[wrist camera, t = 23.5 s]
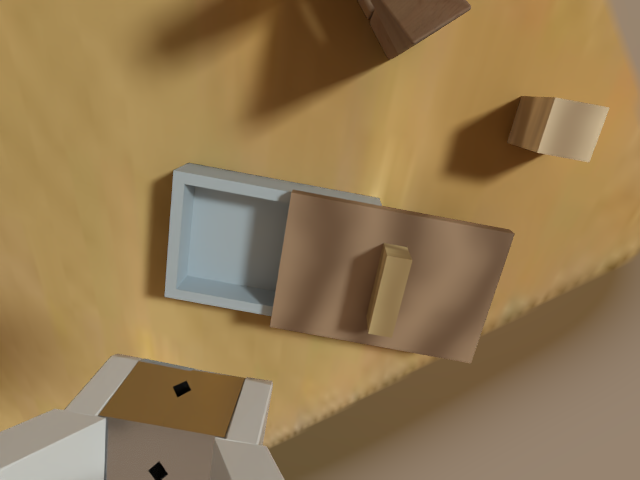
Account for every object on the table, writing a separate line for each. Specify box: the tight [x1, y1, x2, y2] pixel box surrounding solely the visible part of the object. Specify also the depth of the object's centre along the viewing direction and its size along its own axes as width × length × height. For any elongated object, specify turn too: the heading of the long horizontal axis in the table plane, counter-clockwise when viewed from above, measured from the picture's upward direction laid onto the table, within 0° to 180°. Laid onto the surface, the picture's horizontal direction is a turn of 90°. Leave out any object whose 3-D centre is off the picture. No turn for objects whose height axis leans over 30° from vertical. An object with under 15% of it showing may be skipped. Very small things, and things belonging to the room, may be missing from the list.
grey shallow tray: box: [164, 163, 382, 316], centre depth 42 cm, size 18×12×4 cm, turn 80°
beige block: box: [507, 96, 609, 162], centre depth 36 cm, size 4×4×6 cm
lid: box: [270, 190, 514, 363], centre depth 38 cm, size 19×13×4 cm
